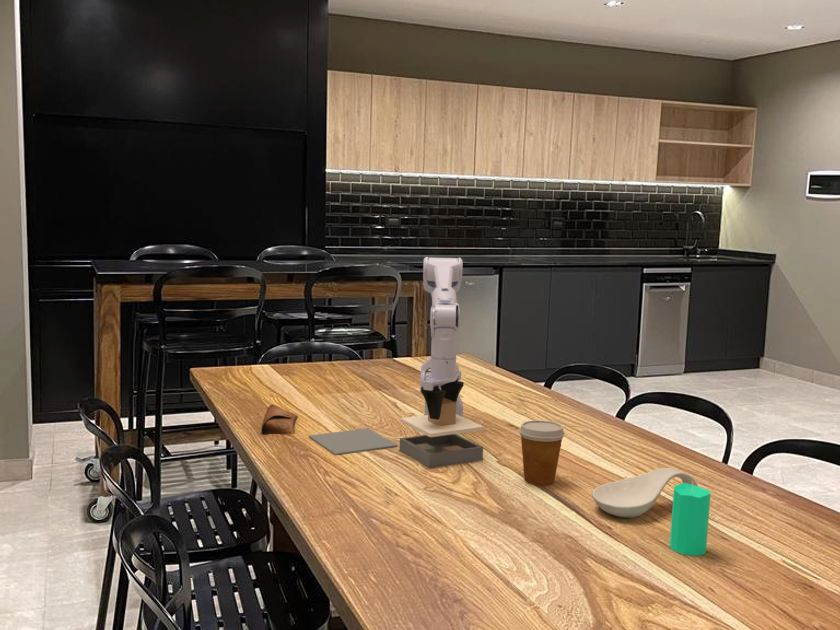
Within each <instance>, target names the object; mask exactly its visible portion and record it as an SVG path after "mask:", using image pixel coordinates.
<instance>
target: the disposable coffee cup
mask: <svg viewBox="0 0 840 630" xmlns="http://www.w3.org/2000/svg"><path fill="white" fill-rule="evenodd" d="M518 433H519V435H520V441H521V442H520V443H521V451H522V452H521V453H522V464H523V477H524V478H523V480H524V482H525V483H527V484H530V485H532V486H539V487H541V486H542V487H544V486H550V485H553V484H554V483H555V479H556V473H557V469H558V463H559V457H560V452H561V447H562V441H563V439H564V436H566V435H565V431H564V427H563V425H562V424H560V423H558V422H554V421H549V420H528V421H524V422H522V423H521V424H520V428H519V429H518Z"/></svg>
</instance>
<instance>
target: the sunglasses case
mask: <svg viewBox="0 0 840 630" xmlns="http://www.w3.org/2000/svg"><path fill="white" fill-rule="evenodd" d="M298 417H299V416H298V415H297V414H296V413H293V412H290V411H287V410H285V409H284V408H282V407H280V406H278V405H276V404H270V405H269V406H268V408H267V410H266V412H265V415H264V418H263V421H262V425H261V433H262V434H263V435H267V436H268V434H280V435H295V434H296V433H295V432H296V431H295V426H296V425H295V424H296V421H297V419H298Z"/></svg>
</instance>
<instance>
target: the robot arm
mask: <svg viewBox="0 0 840 630" xmlns="http://www.w3.org/2000/svg"><path fill="white" fill-rule="evenodd" d="M422 266H423V267H422V269H423V271H422V273H423V275H422V279H423V284H422V285H423V288H424V290H423V291H425V292H427V293H428V294H429V293H430V296H431V307H430V317H429V319H430V320H429V321H430V323H429V325H430V336H431V343H430V344H431V345H430V346H431V347H430V348H431V350H430V352H431V353H430V358H428V359H427V360H425V362H423V363H422V365H421V367H420V369H421V370H420V378H419V379H420V381H419V382H420V383H419V385H420V388H419V389H420V391H419V393H420V394H421V395H423V398H424V415H428V412H429V416H430V419H436V420H438V419H439V418H440V414H441V406H442V401H443V398H447V399H449V400H451V401H454V402H456V414H457V415H459V416H461V417H464V403H463V401H462V398H461V396H459V395H460V393H461V391H462V389H463V387H464V385H465V384H464V382H463V381H460V380H462V371H460V367H459V366H458V364H457V342H458V341H457V340H458V330H459V328H460V323H461V321H460V319H461V310H460V304H459V303H458V301H457V299H458V298H457V293H458V292H459V291H460V288H461V285H462V281H463V271H464V270H463V266H464V265H463V259H462V258H461V257H457V258H456V257H428V256H425V257H424V258H423V265H422ZM424 415H423V416H424Z"/></svg>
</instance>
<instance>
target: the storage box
mask: <svg viewBox="0 0 840 630" xmlns="http://www.w3.org/2000/svg"><path fill="white" fill-rule="evenodd" d="M399 451H400V452H401V453H402V454H404V455H405V456H408V457H410V459H413V460H415V461H417V462H418V463H419V464H422V465H423V466H426V467H427V468H428V469H433V468H438V467H439V468H440V467H446V466H451V465H453V466H454V465H458V464H459V465H460V464H464V463H465V464H466V463H471V462H478V461H483V460H484V458H483V457H484V446H482V445H480V444H478V443H476V442H474V441H472V440H469V439H467V438H465V437H464V436H461V435H459V434H451V435H444V436H436V437H429V436H427V435H425V434H421V435H415V436H407V437H399Z"/></svg>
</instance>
